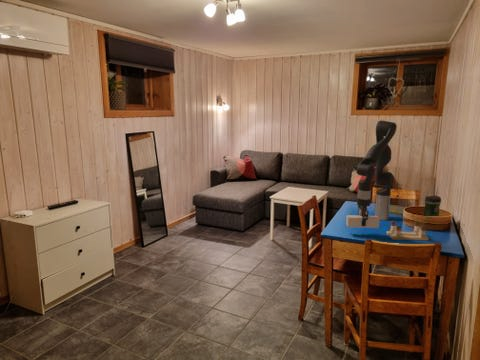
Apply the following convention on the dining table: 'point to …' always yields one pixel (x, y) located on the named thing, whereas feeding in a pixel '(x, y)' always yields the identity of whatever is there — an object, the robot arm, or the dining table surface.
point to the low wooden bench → (407, 233)
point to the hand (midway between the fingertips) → (362, 224)
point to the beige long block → (357, 221)
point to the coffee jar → (432, 206)
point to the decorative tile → (396, 210)
